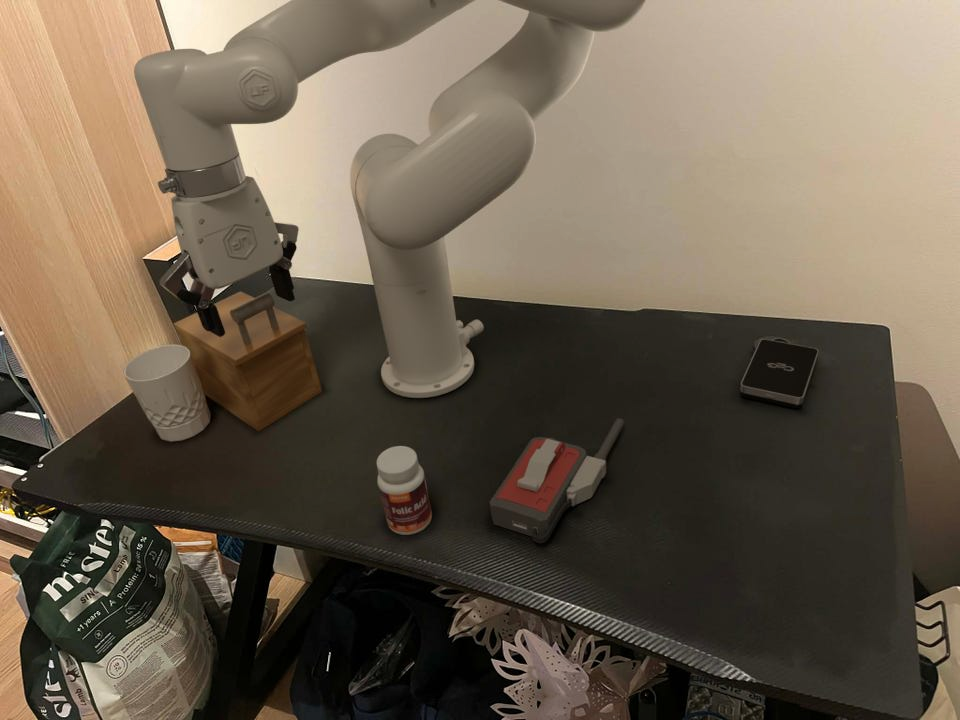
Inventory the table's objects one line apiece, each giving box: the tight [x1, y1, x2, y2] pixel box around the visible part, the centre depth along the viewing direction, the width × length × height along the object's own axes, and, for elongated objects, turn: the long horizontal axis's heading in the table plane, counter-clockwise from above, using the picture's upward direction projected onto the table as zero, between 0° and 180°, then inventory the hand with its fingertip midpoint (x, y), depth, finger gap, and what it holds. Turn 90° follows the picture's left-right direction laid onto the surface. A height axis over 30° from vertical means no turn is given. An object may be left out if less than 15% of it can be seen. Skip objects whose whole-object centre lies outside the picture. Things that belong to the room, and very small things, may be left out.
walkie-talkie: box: [488, 418, 625, 544], centre depth 75 cm, size 9×4×20 cm
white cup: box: [123, 343, 212, 443], centre depth 90 cm, size 8×8×10 cm
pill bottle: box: [376, 445, 433, 536], centre depth 72 cm, size 5×5×8 cm
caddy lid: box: [173, 291, 308, 366], centre depth 89 cm, size 15×10×6 cm, turn 47°
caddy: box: [175, 329, 323, 432], centre depth 94 cm, size 15×10×10 cm
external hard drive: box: [739, 338, 820, 409], centre depth 86 cm, size 7×11×2 cm, turn 150°
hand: (252, 314), depth 85 cm, fingers open, 9 cm apart
